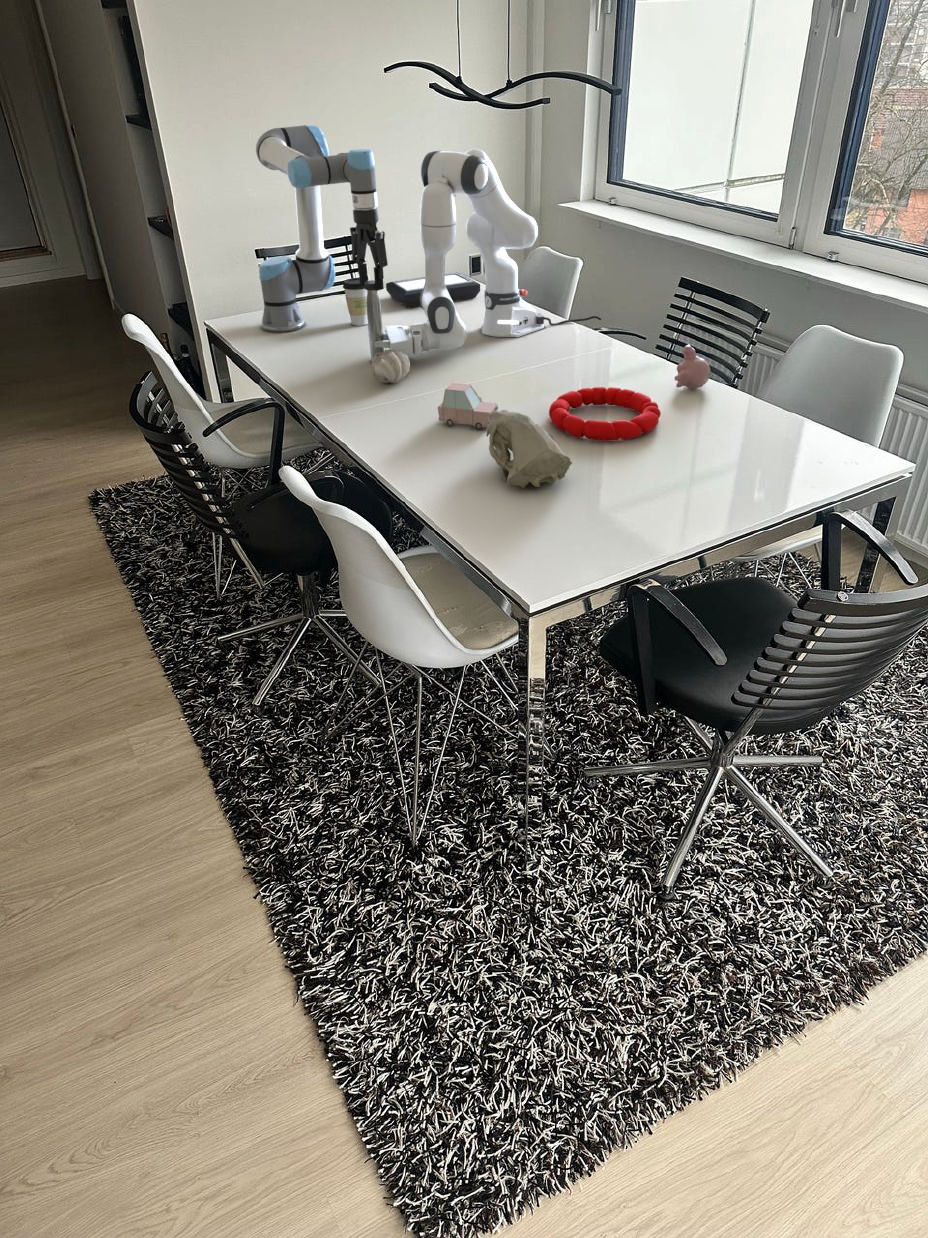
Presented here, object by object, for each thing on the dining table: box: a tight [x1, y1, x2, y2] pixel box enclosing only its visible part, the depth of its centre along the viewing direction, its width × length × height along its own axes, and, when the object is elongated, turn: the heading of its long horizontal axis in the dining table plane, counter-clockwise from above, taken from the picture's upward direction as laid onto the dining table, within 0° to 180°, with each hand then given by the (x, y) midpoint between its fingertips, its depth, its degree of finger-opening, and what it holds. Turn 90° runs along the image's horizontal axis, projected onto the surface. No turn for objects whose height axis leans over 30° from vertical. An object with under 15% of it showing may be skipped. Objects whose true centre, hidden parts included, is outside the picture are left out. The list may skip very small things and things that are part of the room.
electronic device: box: [385, 272, 481, 309], centre depth 351 cm, size 32×6×20 cm
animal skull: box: [485, 409, 573, 489], centre depth 216 cm, size 17×25×20 cm
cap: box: [364, 279, 375, 291], centre depth 278 cm, size 4×4×2 cm
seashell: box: [371, 349, 411, 384], centre depth 271 cm, size 10×15×10 cm
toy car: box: [437, 382, 499, 431], centre depth 243 cm, size 9×15×10 cm, turn 70°
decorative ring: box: [548, 386, 661, 442], centre depth 242 cm, size 7×30×30 cm
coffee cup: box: [342, 277, 368, 327], centre depth 323 cm, size 10×10×15 cm
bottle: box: [366, 290, 385, 363], centre depth 285 cm, size 4×4×24 cm
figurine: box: [674, 344, 711, 390], centre depth 259 cm, size 9×11×12 cm
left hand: (371, 287), depth 278 cm, fingers open, 7 cm apart
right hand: (373, 341), depth 288 cm, fingers closed on bottle, 4 cm apart
